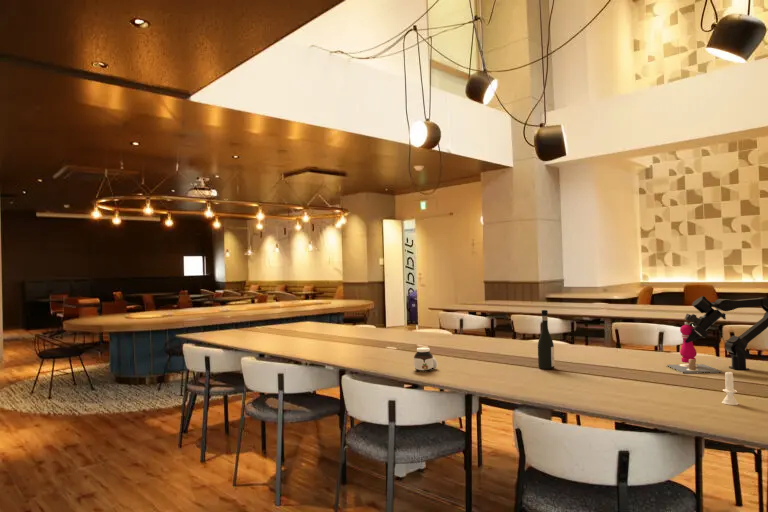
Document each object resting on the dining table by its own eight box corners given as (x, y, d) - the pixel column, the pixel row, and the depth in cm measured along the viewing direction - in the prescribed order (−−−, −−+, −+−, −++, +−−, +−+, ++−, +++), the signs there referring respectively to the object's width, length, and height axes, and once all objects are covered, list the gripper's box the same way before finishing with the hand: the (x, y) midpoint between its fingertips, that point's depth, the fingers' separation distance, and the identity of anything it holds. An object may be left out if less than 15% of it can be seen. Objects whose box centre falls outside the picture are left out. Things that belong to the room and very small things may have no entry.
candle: (732, 401, 203) (730, 369, 203) (742, 404, 197) (740, 372, 198) (718, 401, 202) (717, 370, 203) (728, 405, 197) (726, 372, 197)
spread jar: (413, 372, 275) (412, 349, 275) (416, 367, 286) (416, 346, 286) (436, 372, 272) (435, 349, 272) (439, 368, 283) (438, 346, 283)
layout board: (722, 373, 252) (721, 360, 252) (682, 373, 254) (682, 360, 254) (703, 366, 269) (702, 354, 269) (666, 366, 270) (666, 354, 271)
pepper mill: (700, 362, 262) (697, 322, 263) (685, 363, 263) (683, 323, 263) (692, 360, 270) (689, 320, 270) (677, 360, 270) (675, 321, 270)
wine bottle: (552, 366, 278) (550, 309, 279) (556, 369, 270) (554, 310, 271) (537, 366, 279) (535, 309, 280) (540, 369, 271) (538, 310, 272)
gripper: (691, 306, 274) (668, 327, 278) (698, 309, 256) (674, 332, 260) (710, 321, 271) (686, 343, 275) (718, 326, 253) (693, 348, 257)
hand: (684, 341), depth 267 cm, fingers closed on pepper mill, 5 cm apart
